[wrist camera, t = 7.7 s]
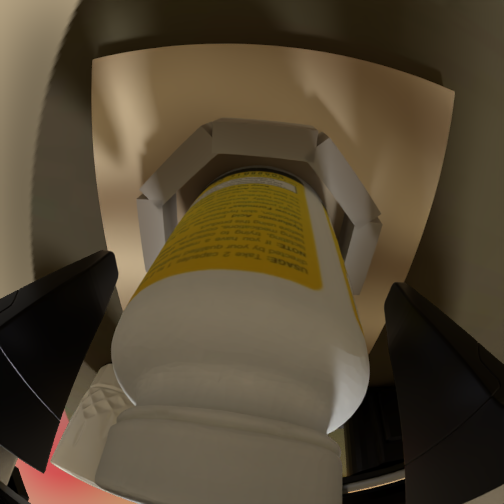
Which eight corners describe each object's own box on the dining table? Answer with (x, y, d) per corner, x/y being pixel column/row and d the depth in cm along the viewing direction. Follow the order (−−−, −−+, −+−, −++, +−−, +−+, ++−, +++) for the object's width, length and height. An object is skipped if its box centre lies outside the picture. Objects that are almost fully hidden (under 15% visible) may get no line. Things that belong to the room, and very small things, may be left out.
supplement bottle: (166, 227, 11) (32, 454, 3) (260, 131, 9) (113, 468, 1) (259, 304, 13) (231, 527, 5) (355, 234, 11) (435, 501, 3)
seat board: (366, 343, 15) (373, 374, 13) (132, 317, 16) (117, 345, 14) (444, 90, 8) (476, 94, 6) (102, 60, 8) (69, 58, 7)
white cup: (79, 360, 20) (34, 452, 11) (138, 352, 18) (88, 479, 9) (134, 409, 23) (106, 492, 15) (197, 408, 21) (174, 513, 13)
